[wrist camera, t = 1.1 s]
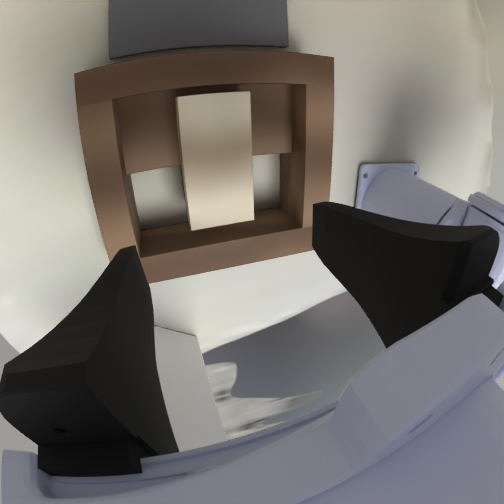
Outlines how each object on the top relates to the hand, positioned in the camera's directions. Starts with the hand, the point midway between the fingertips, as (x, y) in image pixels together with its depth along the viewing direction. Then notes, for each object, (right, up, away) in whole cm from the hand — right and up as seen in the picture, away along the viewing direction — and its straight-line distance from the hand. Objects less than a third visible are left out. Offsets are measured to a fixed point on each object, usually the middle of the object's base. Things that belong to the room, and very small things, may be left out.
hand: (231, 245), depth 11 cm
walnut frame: (-2, +7, +8) cm, 11 cm away
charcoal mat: (-3, +18, +1) cm, 18 cm away
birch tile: (-2, +6, +6) cm, 9 cm away
